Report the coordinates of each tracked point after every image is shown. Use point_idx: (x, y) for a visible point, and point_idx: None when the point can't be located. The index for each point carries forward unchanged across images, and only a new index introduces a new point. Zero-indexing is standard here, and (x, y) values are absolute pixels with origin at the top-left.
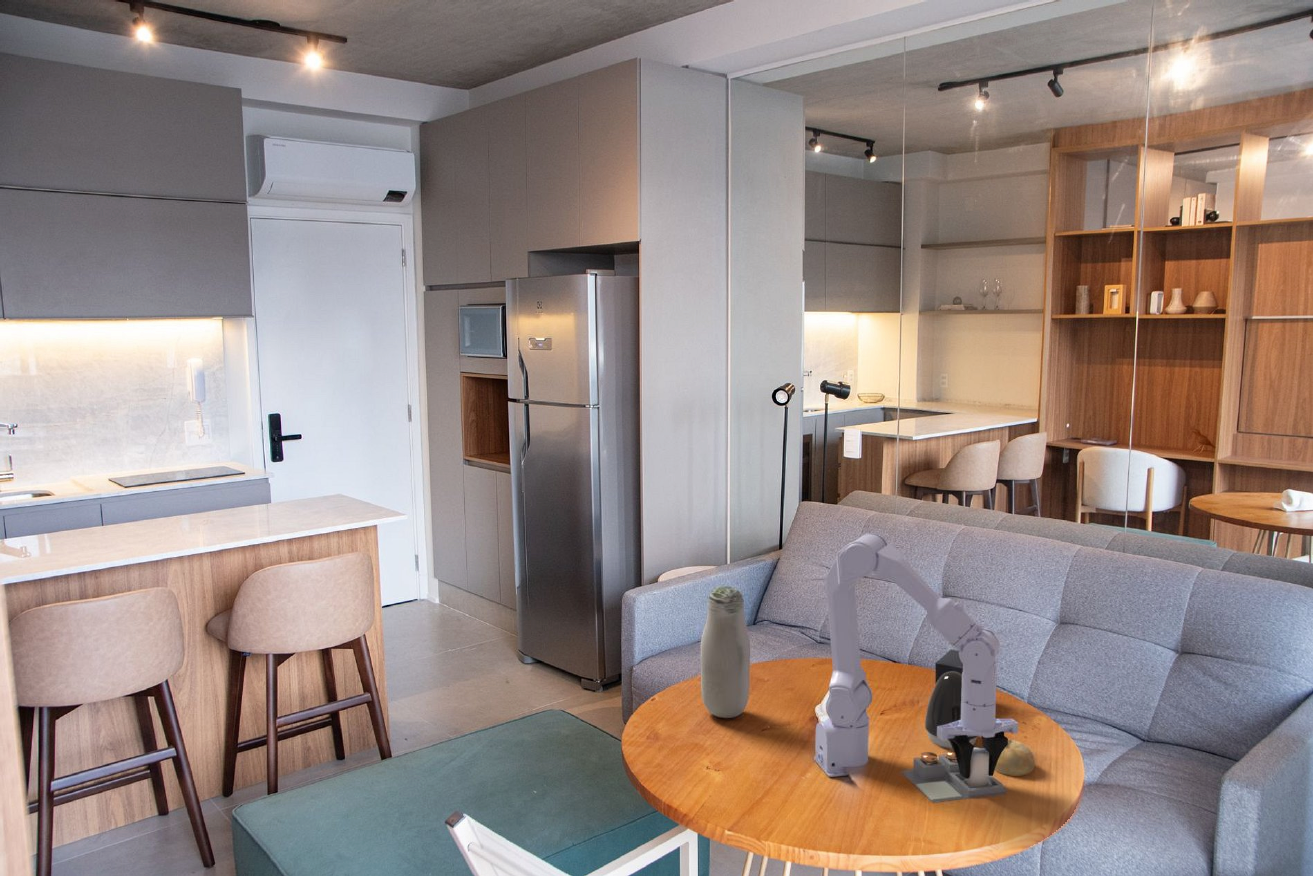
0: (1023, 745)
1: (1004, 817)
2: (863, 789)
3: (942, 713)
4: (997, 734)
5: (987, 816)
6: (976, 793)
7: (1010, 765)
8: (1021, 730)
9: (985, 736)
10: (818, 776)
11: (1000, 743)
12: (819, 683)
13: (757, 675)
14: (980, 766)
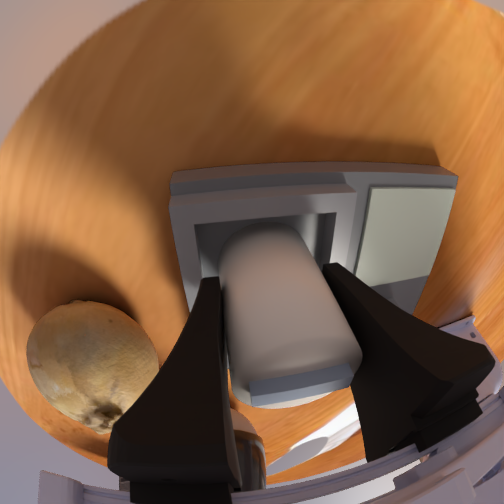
0: (46, 397)
1: (247, 58)
2: (469, 280)
3: (254, 486)
4: (184, 496)
5: (310, 81)
6: (315, 189)
7: (100, 336)
8: (66, 422)
9: (469, 479)
10: (476, 317)
11: (189, 443)
12: (293, 470)
13: (339, 463)
14: (305, 294)
